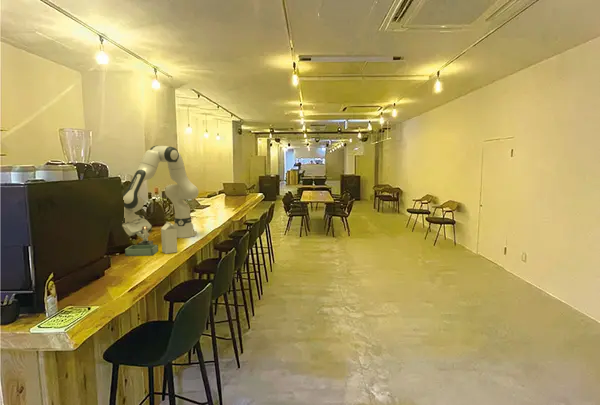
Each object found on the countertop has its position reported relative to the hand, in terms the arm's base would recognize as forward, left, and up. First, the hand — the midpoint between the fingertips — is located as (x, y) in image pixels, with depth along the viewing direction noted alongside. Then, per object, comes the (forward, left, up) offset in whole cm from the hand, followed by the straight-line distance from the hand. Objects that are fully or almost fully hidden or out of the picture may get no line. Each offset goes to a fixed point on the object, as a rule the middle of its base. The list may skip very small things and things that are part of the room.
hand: (146, 236), depth 236 cm
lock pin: (0, -1, -8) cm, 8 cm away
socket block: (0, -1, -8) cm, 8 cm away
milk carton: (+7, +16, -9) cm, 20 cm away
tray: (+9, 0, -8) cm, 13 cm away
